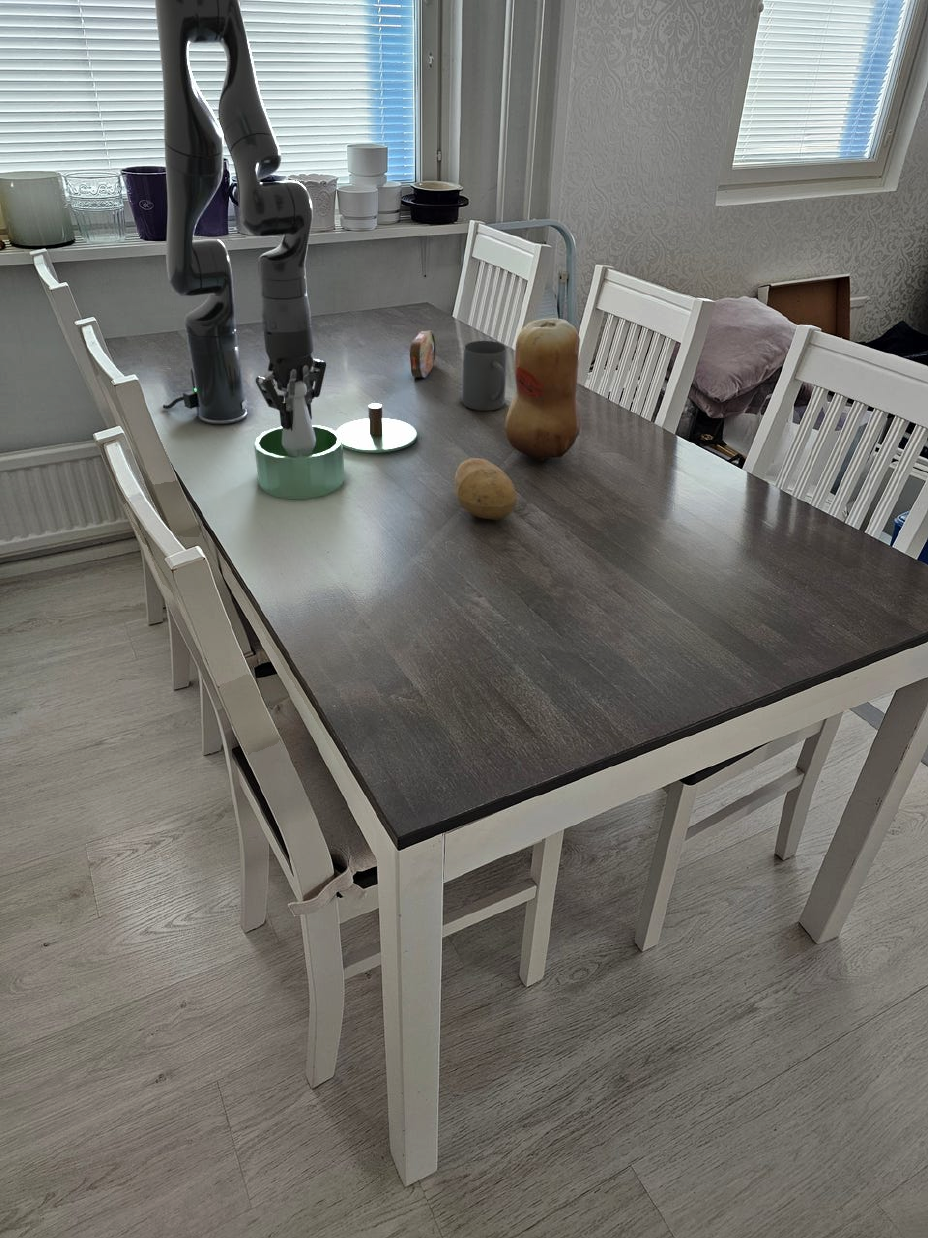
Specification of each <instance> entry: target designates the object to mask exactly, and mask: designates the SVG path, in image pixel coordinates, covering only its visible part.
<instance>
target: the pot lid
mask: <svg viewBox="0 0 928 1238" xmlns="http://www.w3.org/2000/svg"><path fill="white" fill-rule="evenodd" d="M367 407H368V408H367V409H368V418H363V419H358V420H353V421H350V422H347V423H344V424H343V425H341V426H340V427H338V428H337V429H336V430H335V431H336V432H338V433H339V435H340V436H341V438H342V446H343V448H346V449H349V450H352V451H356V452H362V453H372V454H373V453H389V452H394V451H398V450H402V449H405V448H407V447H409V446H411V445H412V444H414V443H415V441H416V440H417V435H418V433H417V430H416V429H415V427H413V426H412V425H411V424H409V423H408V422H405V421H401V420H397V419H392V418H391V419H390V418H383V405H382V404H380V403H371V404H369V405H368V406H367Z"/></svg>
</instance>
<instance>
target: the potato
mask: <svg viewBox="0 0 928 1238" xmlns="http://www.w3.org/2000/svg"><path fill="white" fill-rule="evenodd" d="M454 477H455V478H454V490H455V495H456V496H457V499H458V503H459V505H460V507H461V508H462V509H463V510H465V511H467V512H468V513H470V514H472V515H473V516H475V517H476V518H479V519H487V520H493V521H497V520H500V519H502V518H505V517H508V516H509V515H510V513H511V512H512V511H513V510H514V509H515V508H516V503H517V492H516V489H515V485H514V483H513V481H512V479H511V478H510V477H509V476H508V474H506V473H505V472H504V470H502V469H501V468H499V467H498V466H497V465H495V464H494V463H492V462H491V461H489V460H487V459H484V458H480V457H471V458H469V459H465V460H463V461H462V462H461V463H460V464H459V466H458V467H457V469H456V472H455V475H454Z"/></svg>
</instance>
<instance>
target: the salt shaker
mask: <svg viewBox="0 0 928 1238" xmlns="http://www.w3.org/2000/svg"><path fill="white" fill-rule="evenodd" d="M281 390H283V391H287V389H286V388H283V387H281ZM294 393H295V395H294V397H292V409H291V410H293V428H292V432H291V428H290V429H288V430H287V429H285V428H284V429H283V433H282V446H283V447H284V449H285V450H286V452H287V453H288V455H289V457H300V456H310V455H311V454H312V452H313V449H314V447H315V444H316V437H315V433H314V430H313V426H312V425H313V422H312V420H311V419H310V415H309V411H308V408H307V404H306V400H305V397H304V395H306V393H307V387H306V384H305V383H304V382H303V381H299V382H296V383H295V391H294Z"/></svg>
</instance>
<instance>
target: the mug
mask: <svg viewBox="0 0 928 1238" xmlns="http://www.w3.org/2000/svg"><path fill="white" fill-rule="evenodd" d="M507 363H508V348H507V346H506V345H505V344H503V343H501V342H498V341H491V340H476V341H475V340H474V341H470V342H467V343H466V344H464V345H463V352H462V379H461V380H462V385H461V386H462V390H461V391H462V397H461V399H462V403H463V404H462V405H464V407H466V408H467V409H471V410H473V411H481V412H482V411H483V412H485V411H494V410H498V409H500V408H502V407H503V406H504V405H505V401H506V385H507V365H508V364H507Z"/></svg>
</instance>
